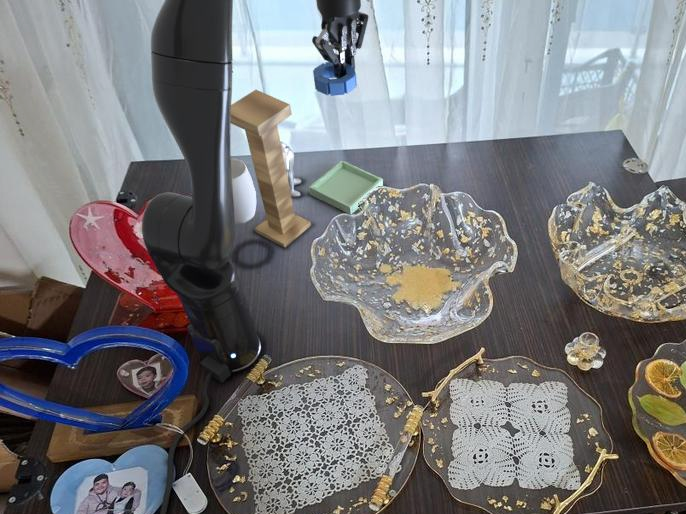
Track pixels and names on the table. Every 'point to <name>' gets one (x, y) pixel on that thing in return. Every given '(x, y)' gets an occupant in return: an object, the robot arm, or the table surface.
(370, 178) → the tray
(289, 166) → the figurine
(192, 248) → the robot arm
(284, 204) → the platform
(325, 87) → the ring
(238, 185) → the cup
